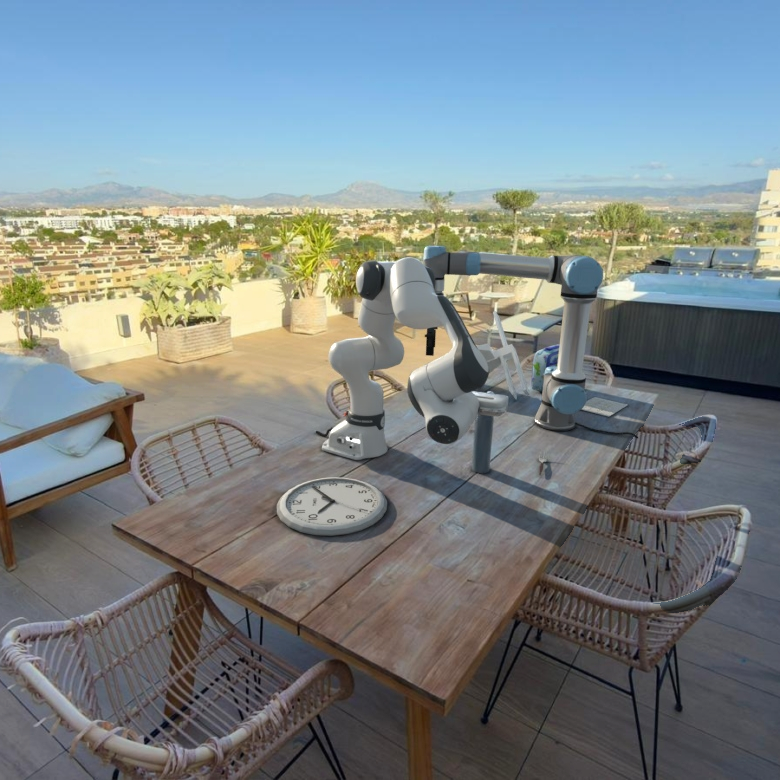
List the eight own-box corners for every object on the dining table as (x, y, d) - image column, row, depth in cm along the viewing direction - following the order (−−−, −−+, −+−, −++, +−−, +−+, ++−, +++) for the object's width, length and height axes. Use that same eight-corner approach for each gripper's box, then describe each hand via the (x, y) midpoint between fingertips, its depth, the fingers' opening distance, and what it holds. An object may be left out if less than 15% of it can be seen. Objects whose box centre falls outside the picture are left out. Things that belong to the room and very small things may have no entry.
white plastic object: (461, 429, 252) (437, 405, 227) (444, 352, 274) (420, 323, 250) (535, 404, 240) (518, 377, 215) (510, 326, 262) (492, 293, 237)
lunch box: (547, 397, 237) (552, 352, 231) (526, 391, 245) (531, 348, 238) (574, 386, 255) (580, 344, 249) (554, 381, 262) (559, 340, 256)
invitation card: (608, 416, 214) (573, 407, 224) (608, 416, 214) (573, 408, 224) (628, 404, 229) (594, 396, 238) (628, 405, 229) (594, 397, 238)
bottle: (475, 474, 163) (480, 404, 156) (469, 466, 168) (473, 398, 161) (492, 472, 164) (497, 403, 157) (485, 465, 169) (490, 397, 162)
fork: (535, 475, 162) (535, 469, 161) (539, 455, 176) (540, 450, 175) (543, 477, 161) (544, 471, 160) (547, 456, 175) (548, 451, 175)
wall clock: (392, 527, 129) (268, 531, 127) (391, 533, 130) (269, 537, 127) (383, 473, 158) (282, 475, 155) (383, 478, 158) (282, 480, 156)
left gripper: (505, 400, 120) (513, 385, 133) (420, 390, 127) (436, 376, 139) (503, 426, 122) (511, 408, 134) (419, 414, 129) (435, 398, 141)
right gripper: (424, 287, 195) (422, 343, 201) (420, 295, 171) (417, 358, 177) (444, 288, 194) (441, 344, 200) (443, 296, 170) (440, 359, 177)
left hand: (472, 392), depth 137 cm, fingers open, 8 cm apart
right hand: (430, 351), depth 189 cm, fingers open, 13 cm apart
